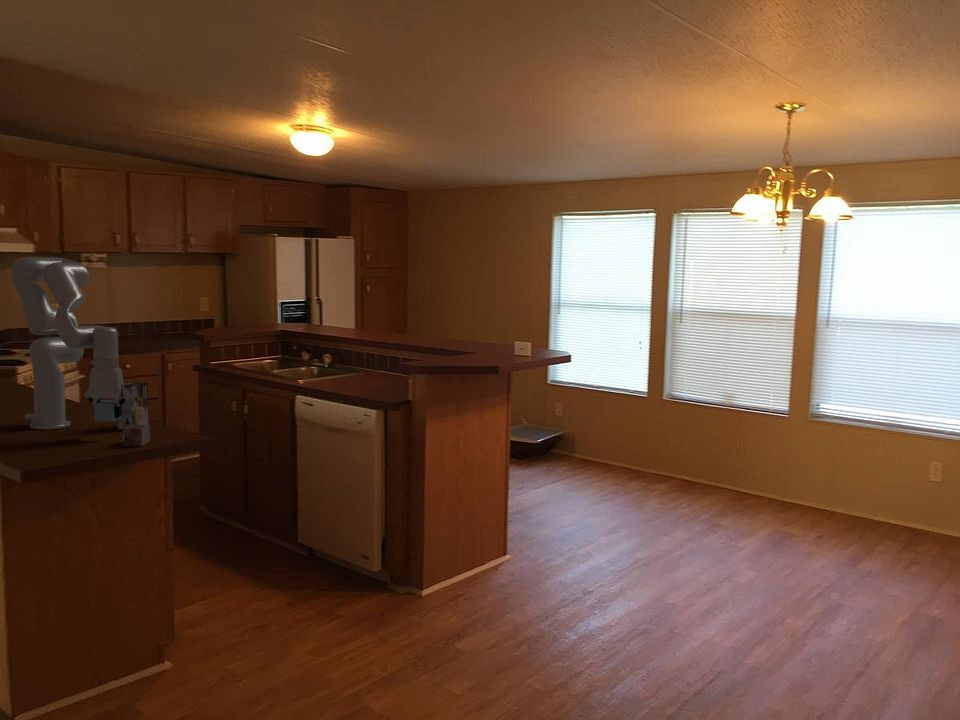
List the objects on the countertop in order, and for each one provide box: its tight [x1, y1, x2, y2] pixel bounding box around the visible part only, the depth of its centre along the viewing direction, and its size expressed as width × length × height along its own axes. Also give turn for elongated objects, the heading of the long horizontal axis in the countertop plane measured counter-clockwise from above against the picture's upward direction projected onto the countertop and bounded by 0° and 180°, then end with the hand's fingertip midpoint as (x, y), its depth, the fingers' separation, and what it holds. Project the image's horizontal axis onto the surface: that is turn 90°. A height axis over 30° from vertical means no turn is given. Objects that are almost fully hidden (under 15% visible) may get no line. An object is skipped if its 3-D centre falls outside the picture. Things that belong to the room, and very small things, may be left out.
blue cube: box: [93, 399, 121, 423], centre depth 257 cm, size 6×6×6 cm
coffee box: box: [116, 381, 150, 430], centre depth 274 cm, size 9×6×16 cm
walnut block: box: [122, 424, 151, 447], centre depth 251 cm, size 6×6×6 cm
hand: (108, 416), depth 257 cm, fingers closed on blue cube, 6 cm apart
